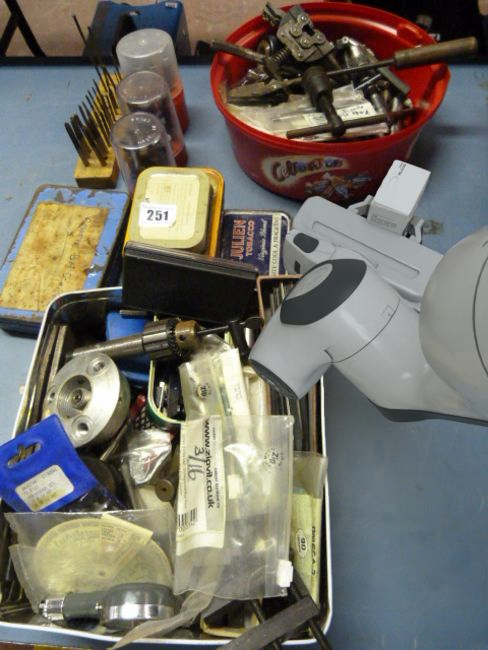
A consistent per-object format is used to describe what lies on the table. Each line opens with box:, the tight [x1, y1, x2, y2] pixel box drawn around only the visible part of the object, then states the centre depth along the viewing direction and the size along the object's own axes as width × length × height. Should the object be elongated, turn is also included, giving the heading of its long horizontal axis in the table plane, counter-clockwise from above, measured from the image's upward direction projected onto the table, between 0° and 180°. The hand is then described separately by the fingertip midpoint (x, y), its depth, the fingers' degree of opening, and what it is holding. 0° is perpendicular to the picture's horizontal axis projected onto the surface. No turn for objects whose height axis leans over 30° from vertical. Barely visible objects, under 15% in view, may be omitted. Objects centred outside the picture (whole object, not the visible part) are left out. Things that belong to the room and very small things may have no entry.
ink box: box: [366, 159, 431, 237], centre depth 67 cm, size 8×5×12 cm, turn 152°
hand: (395, 210), depth 67 cm, fingers closed on ink box, 5 cm apart
